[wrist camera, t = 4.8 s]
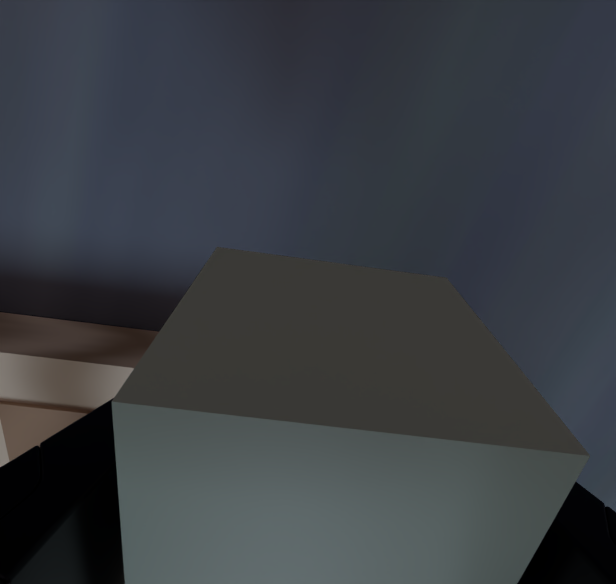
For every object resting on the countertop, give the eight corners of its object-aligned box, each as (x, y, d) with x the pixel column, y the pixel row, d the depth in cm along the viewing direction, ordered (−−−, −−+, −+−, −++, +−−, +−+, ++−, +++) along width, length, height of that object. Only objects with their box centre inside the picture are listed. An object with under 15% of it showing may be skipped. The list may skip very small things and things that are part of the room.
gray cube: (446, 277, 9) (590, 456, 4) (394, 448, 11) (455, 692, 6) (217, 246, 9) (111, 401, 4) (208, 427, 11) (130, 666, 6)
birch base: (237, 341, 20) (224, 381, 17) (224, 512, 24) (212, 566, 21) (-20, 309, 19) (-80, 346, 16) (19, 490, 24) (-22, 544, 21)
